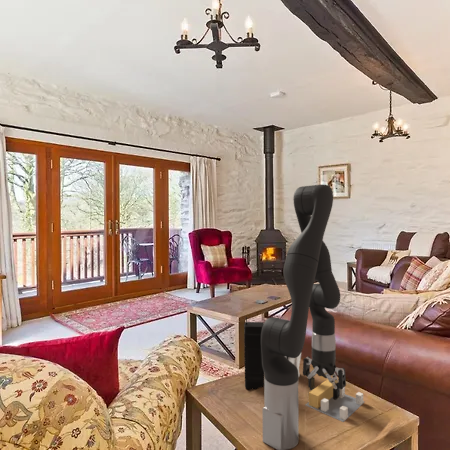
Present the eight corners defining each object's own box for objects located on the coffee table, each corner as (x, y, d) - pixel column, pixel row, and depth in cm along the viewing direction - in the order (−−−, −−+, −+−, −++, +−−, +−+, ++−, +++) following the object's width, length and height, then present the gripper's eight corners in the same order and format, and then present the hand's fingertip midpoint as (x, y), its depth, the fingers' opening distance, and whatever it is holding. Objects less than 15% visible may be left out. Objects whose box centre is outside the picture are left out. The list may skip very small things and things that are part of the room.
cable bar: (317, 408, 109) (317, 396, 109) (308, 404, 111) (308, 392, 111) (337, 392, 118) (337, 381, 118) (328, 389, 121) (328, 378, 120)
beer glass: (294, 371, 136) (294, 333, 136) (305, 379, 130) (305, 339, 129) (279, 375, 134) (278, 336, 133) (289, 383, 127) (289, 342, 127)
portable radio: (266, 381, 129) (266, 314, 128) (267, 390, 123) (266, 319, 122) (245, 380, 129) (244, 314, 128) (244, 389, 124) (244, 319, 122)
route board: (343, 425, 102) (343, 412, 102) (304, 408, 111) (304, 395, 111) (364, 404, 113) (364, 392, 113) (327, 390, 122) (327, 379, 122)
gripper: (298, 343, 117) (298, 390, 117) (338, 355, 107) (338, 407, 107) (310, 337, 122) (310, 382, 123) (349, 348, 112) (349, 397, 113)
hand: (323, 394), depth 115 cm, fingers open, 8 cm apart
